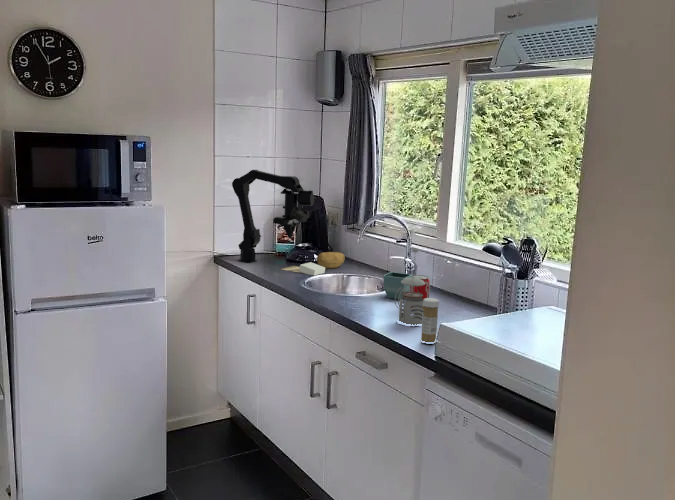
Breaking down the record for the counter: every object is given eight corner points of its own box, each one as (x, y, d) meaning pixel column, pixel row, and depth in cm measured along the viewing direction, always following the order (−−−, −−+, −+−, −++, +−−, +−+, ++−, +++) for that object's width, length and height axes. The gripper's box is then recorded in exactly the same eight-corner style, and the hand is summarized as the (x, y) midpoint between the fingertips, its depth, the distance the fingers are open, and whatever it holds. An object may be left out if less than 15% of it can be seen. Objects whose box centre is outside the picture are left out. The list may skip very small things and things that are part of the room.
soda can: (423, 313, 219) (425, 279, 217) (405, 309, 223) (407, 276, 221) (431, 309, 225) (433, 276, 223) (413, 305, 229) (415, 273, 227)
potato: (349, 269, 287) (350, 252, 286) (323, 272, 280) (324, 254, 278) (337, 265, 295) (338, 249, 294) (312, 268, 288) (312, 250, 286)
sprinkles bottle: (431, 340, 189) (434, 297, 187) (438, 345, 185) (442, 300, 183) (417, 341, 188) (420, 297, 186) (424, 346, 184) (428, 301, 181)
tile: (300, 264, 272) (314, 270, 268) (310, 262, 278) (325, 267, 274) (298, 271, 273) (313, 277, 269) (309, 268, 279) (324, 274, 275)
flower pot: (389, 293, 246) (391, 271, 244) (411, 297, 242) (412, 274, 240) (381, 298, 238) (382, 275, 236) (403, 301, 234) (404, 278, 232)
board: (279, 270, 278) (279, 269, 278) (293, 267, 287) (293, 265, 286) (303, 275, 271) (303, 273, 271) (316, 271, 280) (316, 270, 280)
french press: (431, 324, 206) (437, 249, 202) (404, 329, 199) (410, 252, 195) (411, 317, 214) (416, 245, 209) (385, 321, 207) (389, 247, 203)
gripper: (292, 207, 273) (291, 242, 276) (317, 204, 289) (315, 237, 292) (272, 204, 279) (271, 239, 282) (297, 202, 295) (296, 235, 297)
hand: (289, 237), depth 288 cm, fingers closed
